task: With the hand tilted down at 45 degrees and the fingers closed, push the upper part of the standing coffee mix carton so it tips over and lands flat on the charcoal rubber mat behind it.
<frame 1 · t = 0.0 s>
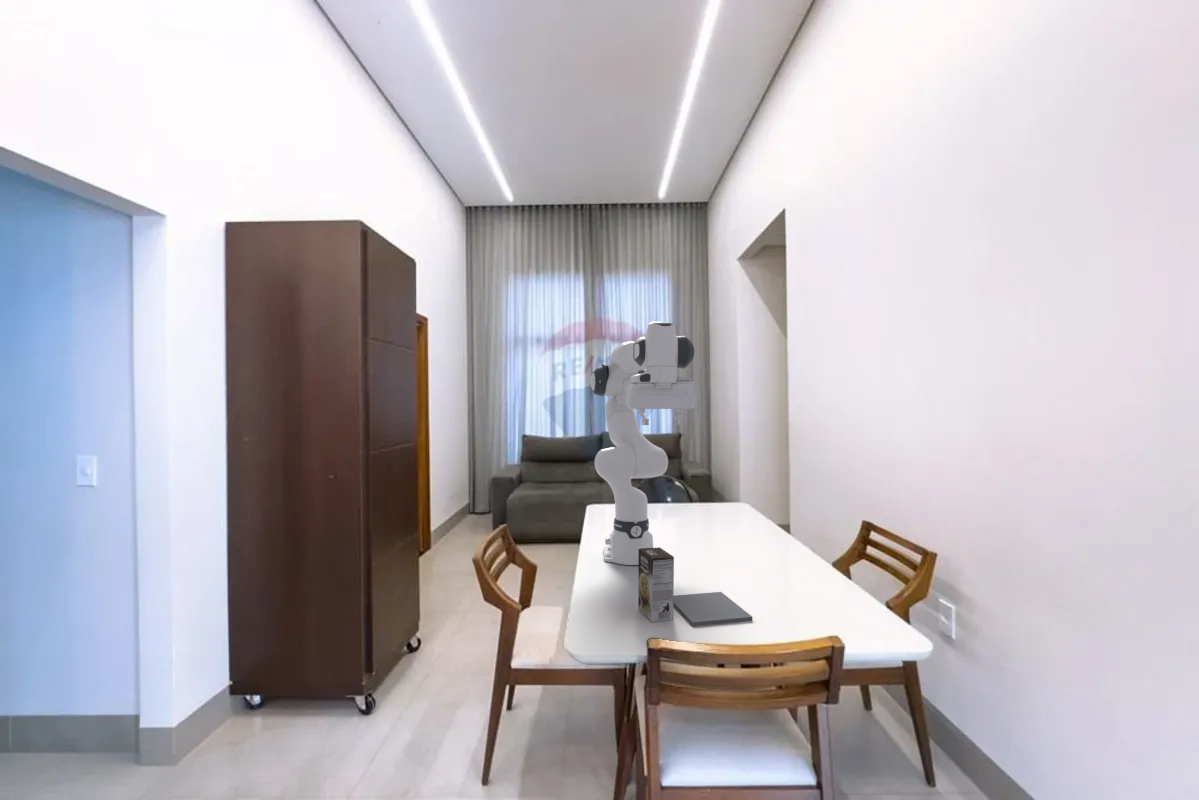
hand: (661, 424, 157), 48 cm above the table, tool pointing down, fingers open, 8 cm apart
coffee box: (655, 615, 140), on the table
mat: (707, 609, 143), on the table
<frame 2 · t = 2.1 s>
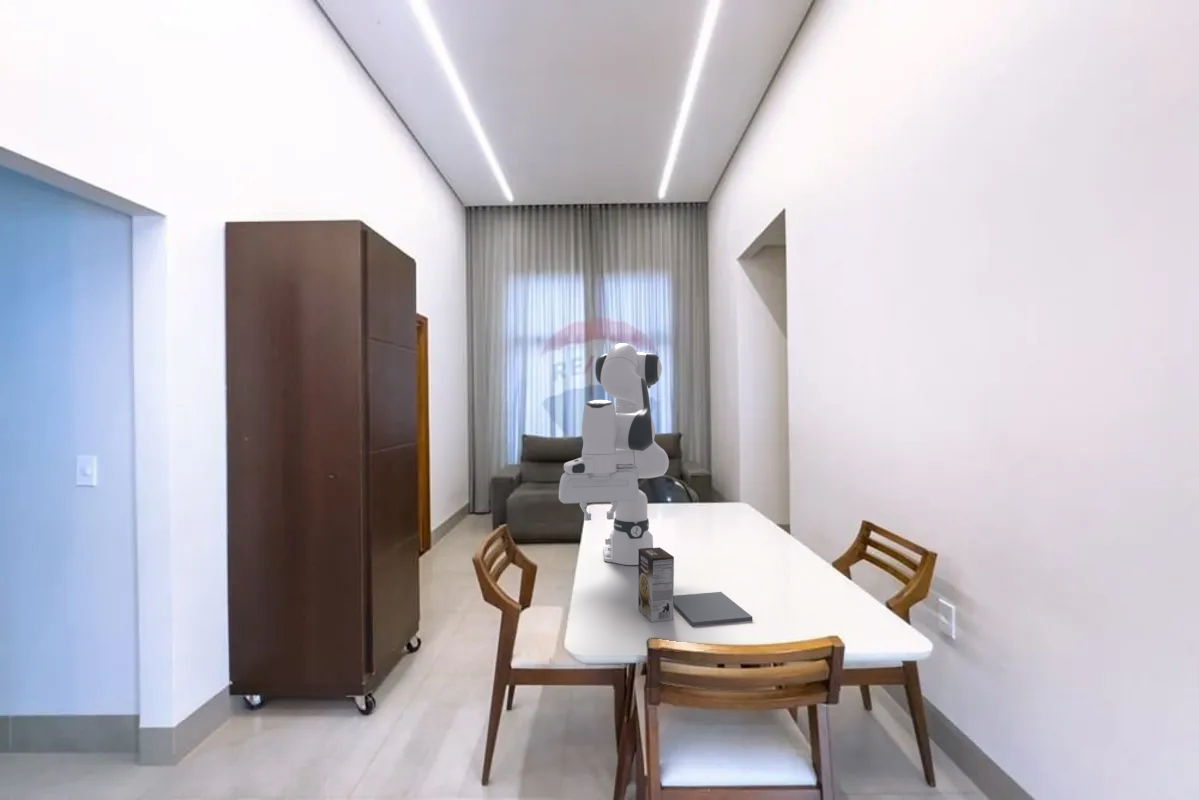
hand: (598, 519, 137), 25 cm above the table, tool pointing down, fingers open, 4 cm apart
nothing on the table moved.
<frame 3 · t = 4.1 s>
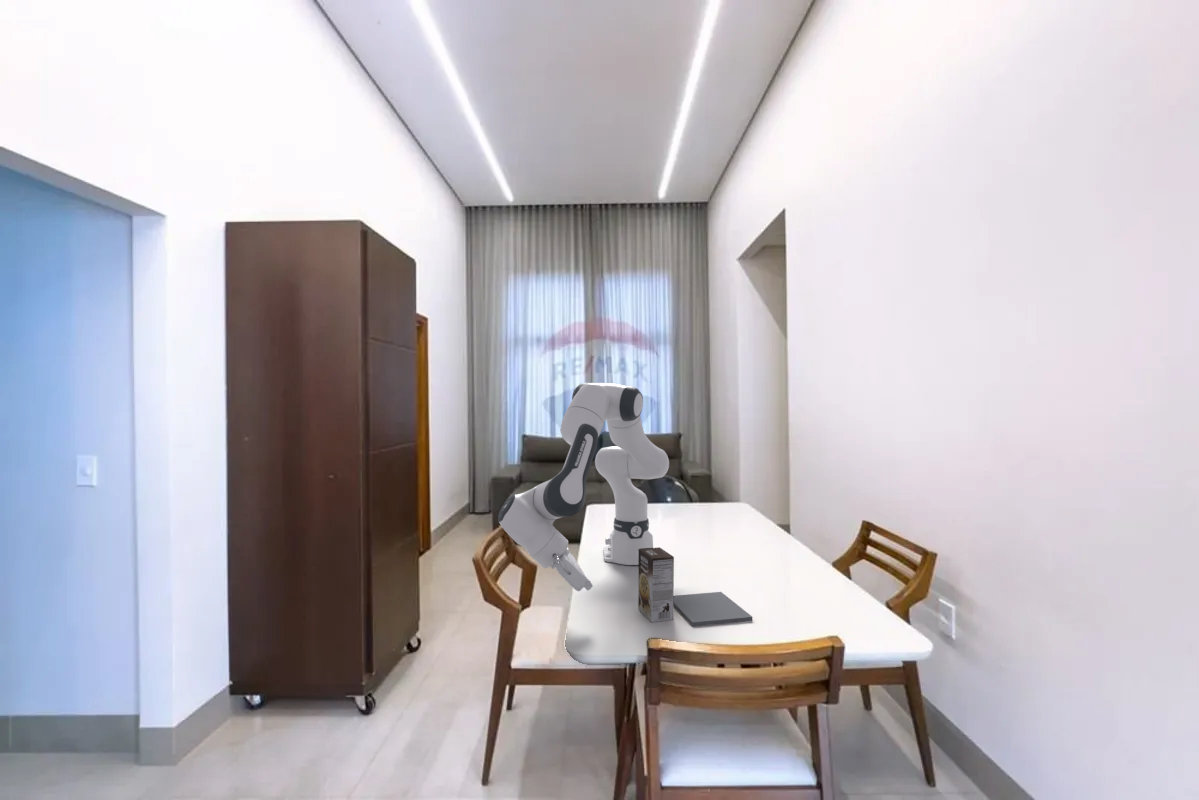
hand: (589, 586, 136), 8 cm above the table, tool tilted 45°, fingers closed
nothing on the table moved.
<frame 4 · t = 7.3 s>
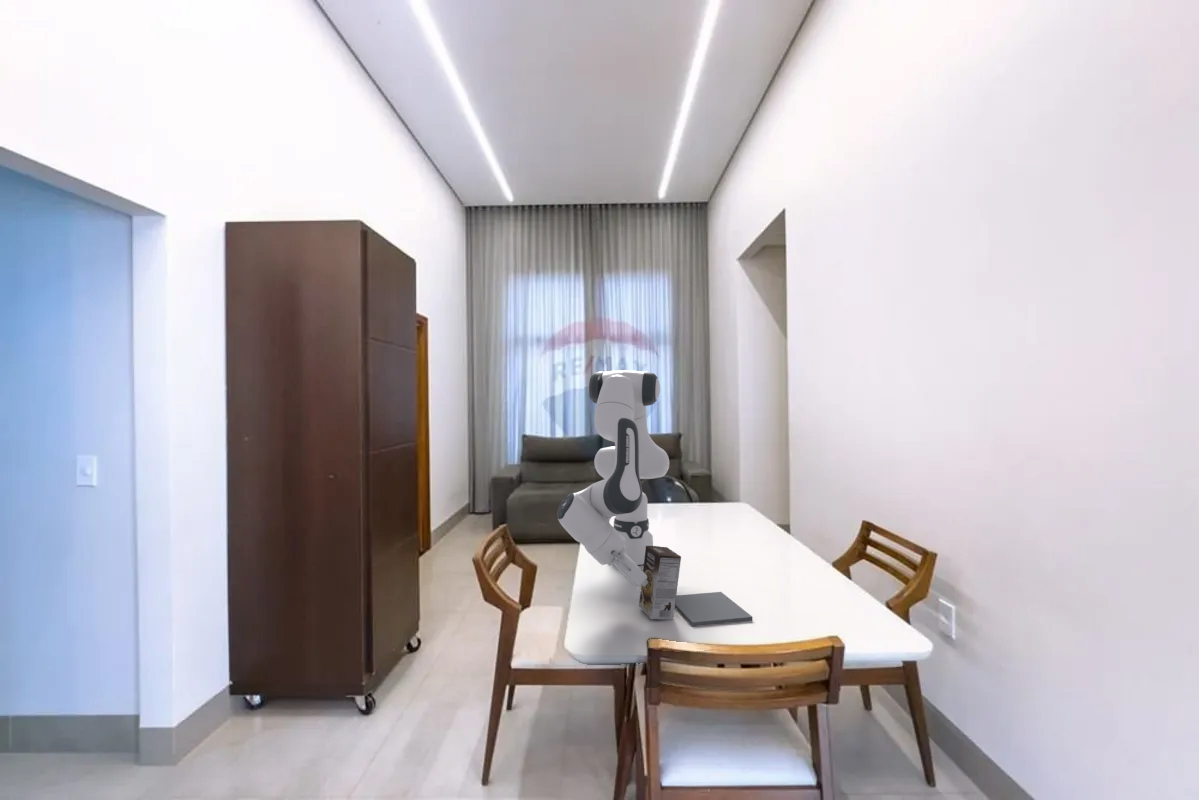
hand: (644, 582, 139), 8 cm above the table, tool tilted 45°, fingers closed
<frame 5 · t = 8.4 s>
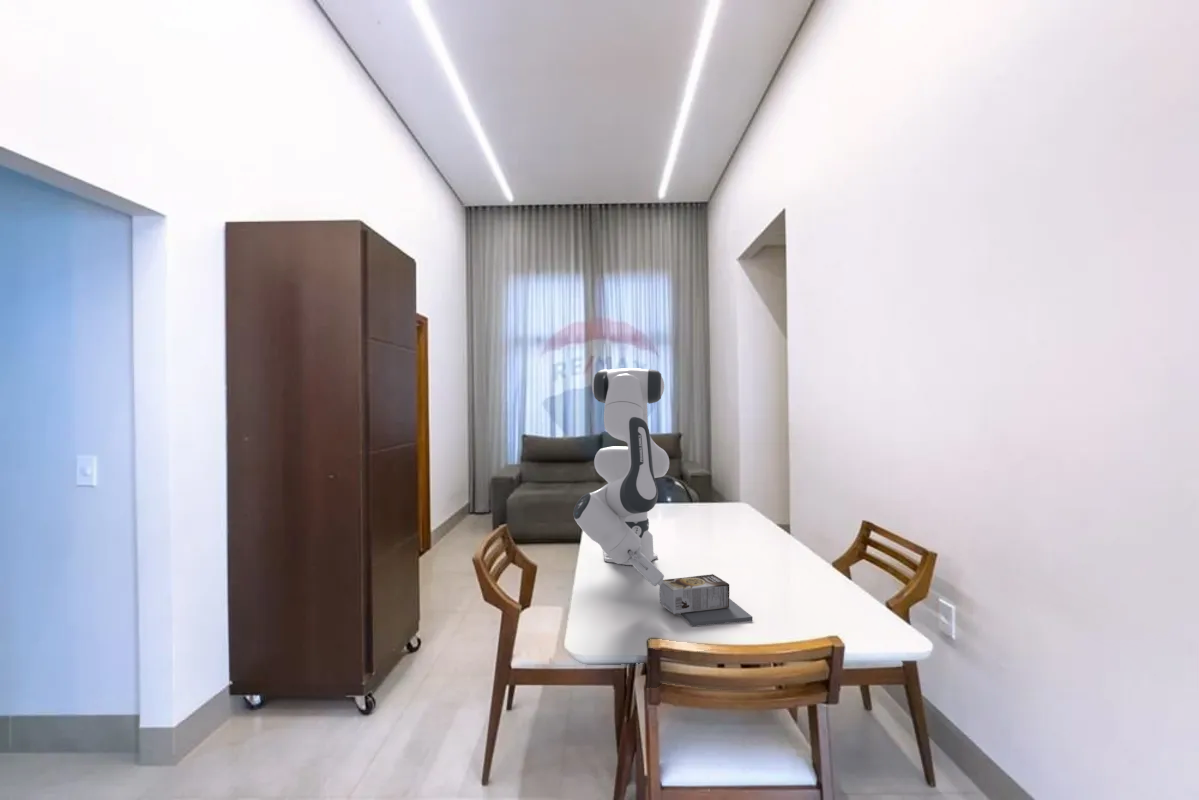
hand: (660, 581, 140), 8 cm above the table, tool tilted 45°, fingers closed
coffee box: (665, 596, 141), point 4 cm above the table, touching mat
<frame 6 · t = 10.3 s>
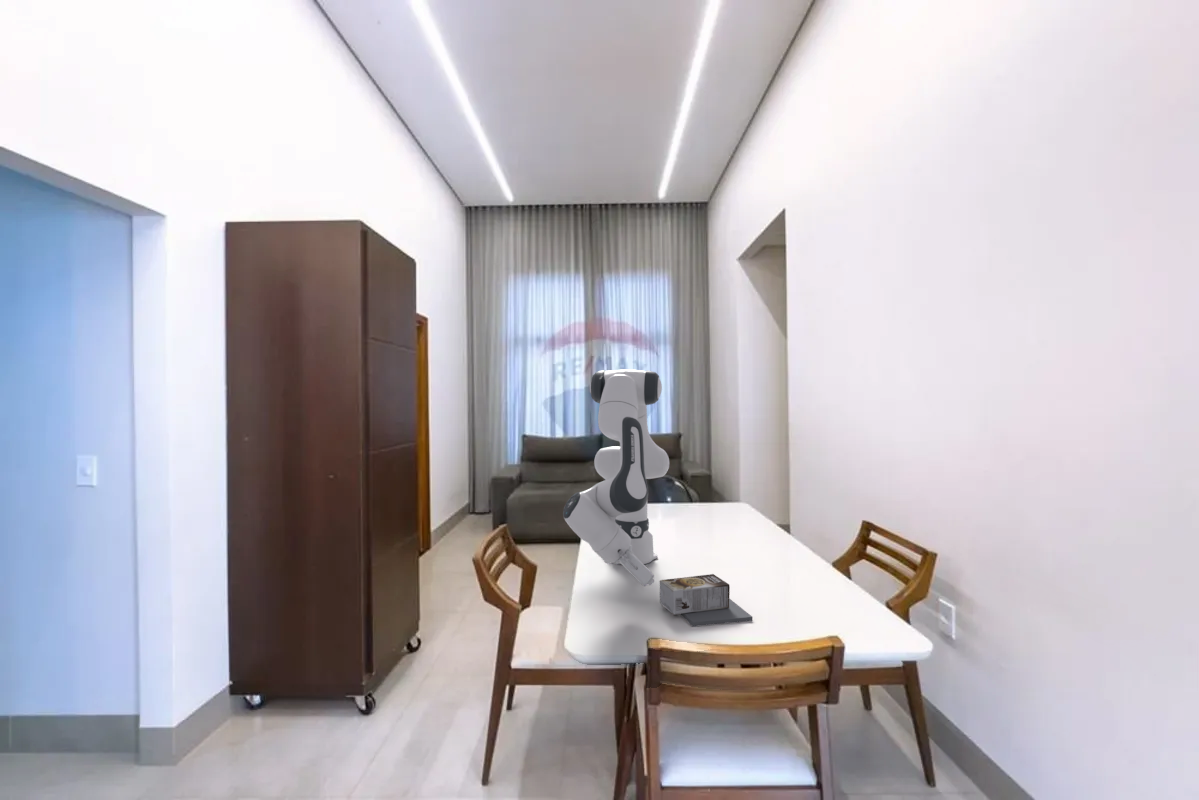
hand: (650, 581, 139), 9 cm above the table, tool tilted 45°, fingers closed
nothing on the table moved.
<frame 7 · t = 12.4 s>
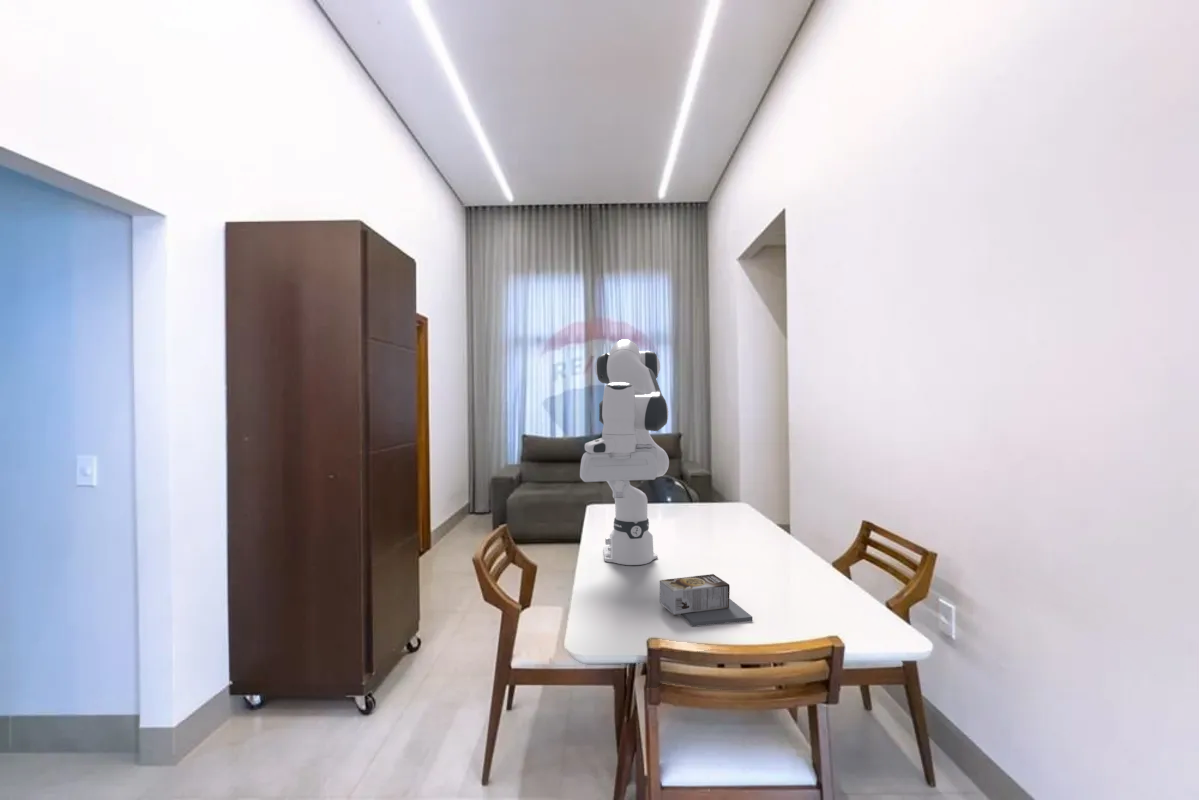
hand: (618, 497, 141), 30 cm above the table, tool pointing down, fingers closed
nothing on the table moved.
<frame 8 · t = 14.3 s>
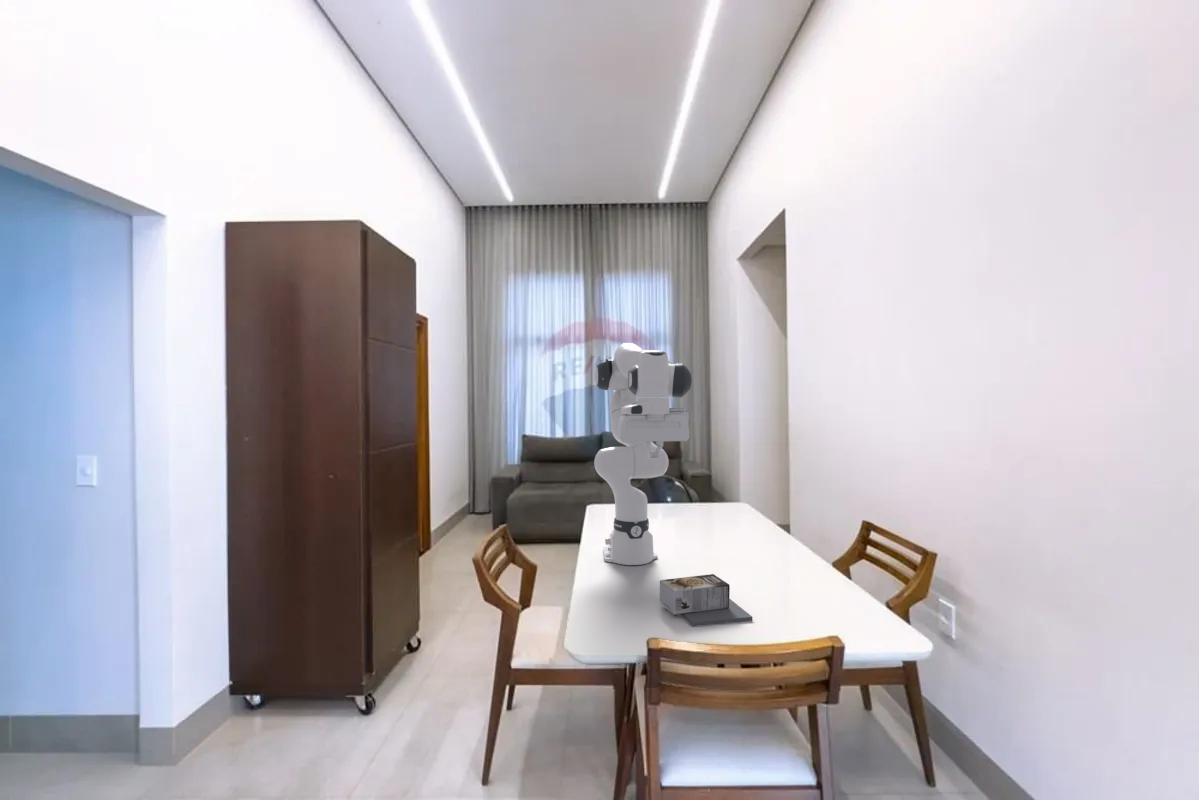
hand: (653, 457, 151), 39 cm above the table, tool pointing down, fingers closed
nothing on the table moved.
at the end: coffee box tilted 90°; coffee box inside the target area (5.7 cm from its centre), point 4.2 cm above the table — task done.
